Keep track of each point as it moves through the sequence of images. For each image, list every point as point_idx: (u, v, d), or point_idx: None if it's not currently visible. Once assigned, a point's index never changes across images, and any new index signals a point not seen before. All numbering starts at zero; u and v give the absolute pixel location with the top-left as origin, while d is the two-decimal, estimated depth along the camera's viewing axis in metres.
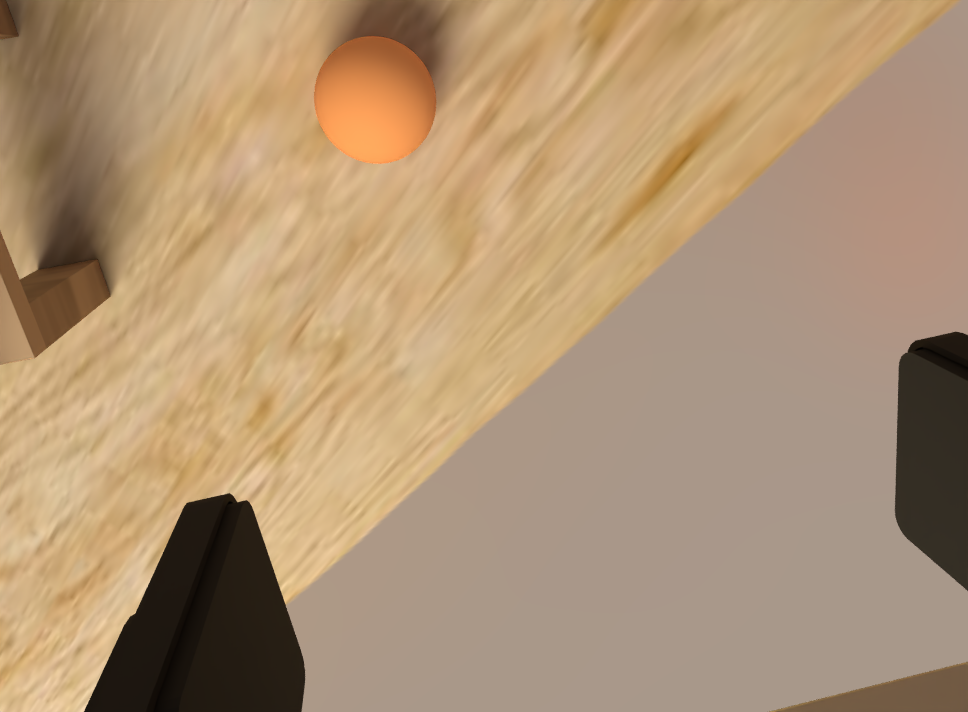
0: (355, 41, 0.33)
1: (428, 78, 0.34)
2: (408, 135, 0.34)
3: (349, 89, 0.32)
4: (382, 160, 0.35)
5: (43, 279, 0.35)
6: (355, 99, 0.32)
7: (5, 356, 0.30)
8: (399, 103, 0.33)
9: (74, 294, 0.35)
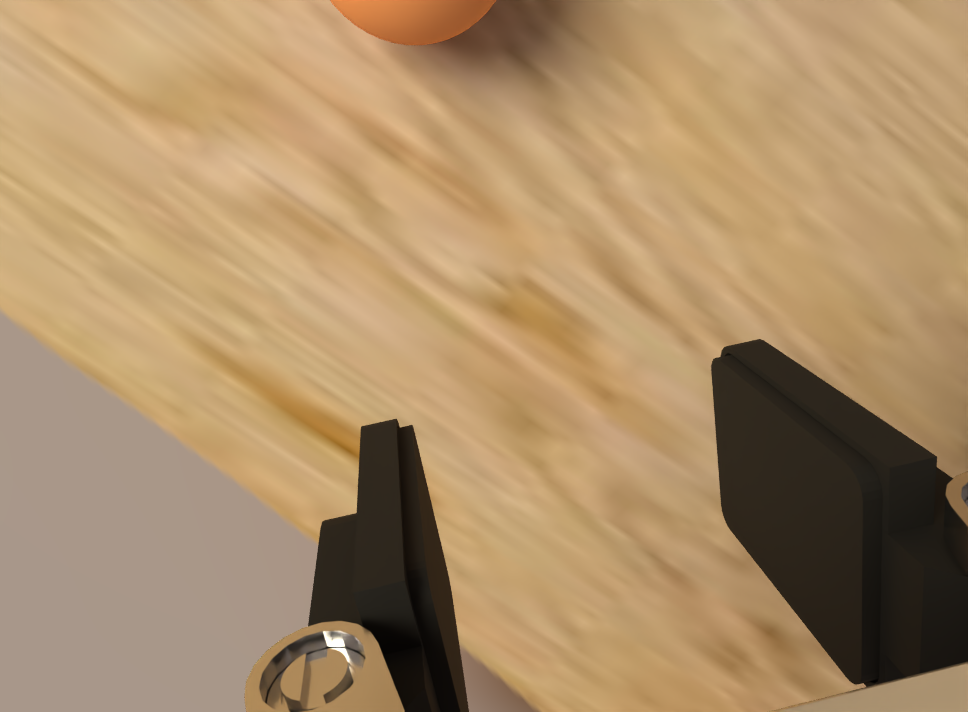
0: None
1: (456, 26, 0.20)
2: None
3: None
4: None
5: None
6: None
7: None
8: None
9: None
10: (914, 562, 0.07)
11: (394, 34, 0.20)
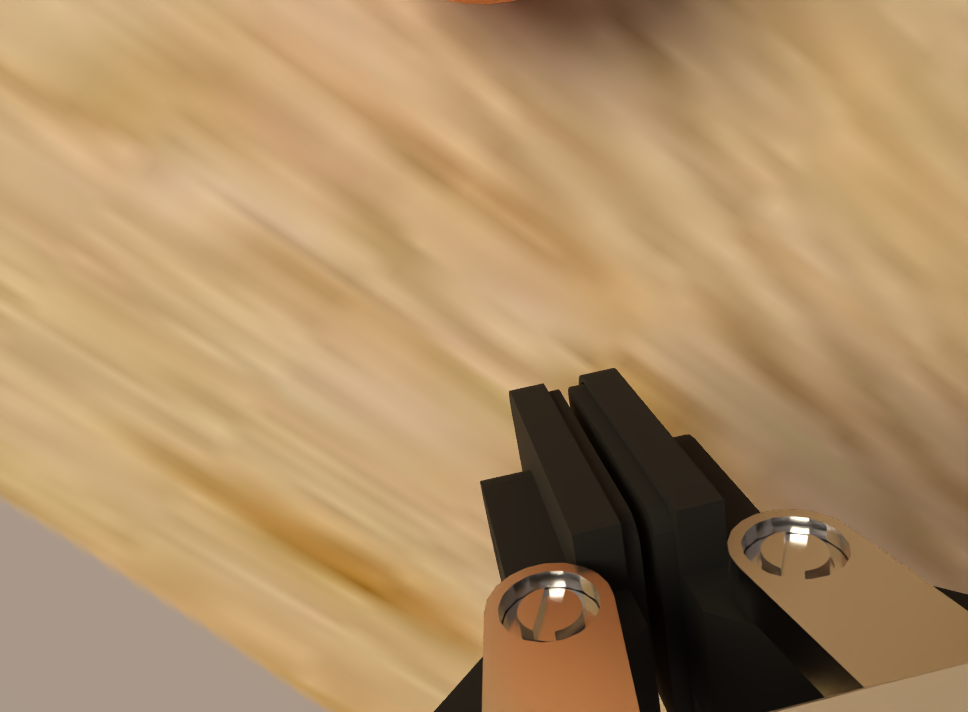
0: None
1: None
2: None
3: None
4: None
5: None
6: None
7: None
8: None
9: None
10: (700, 606, 0.07)
11: None
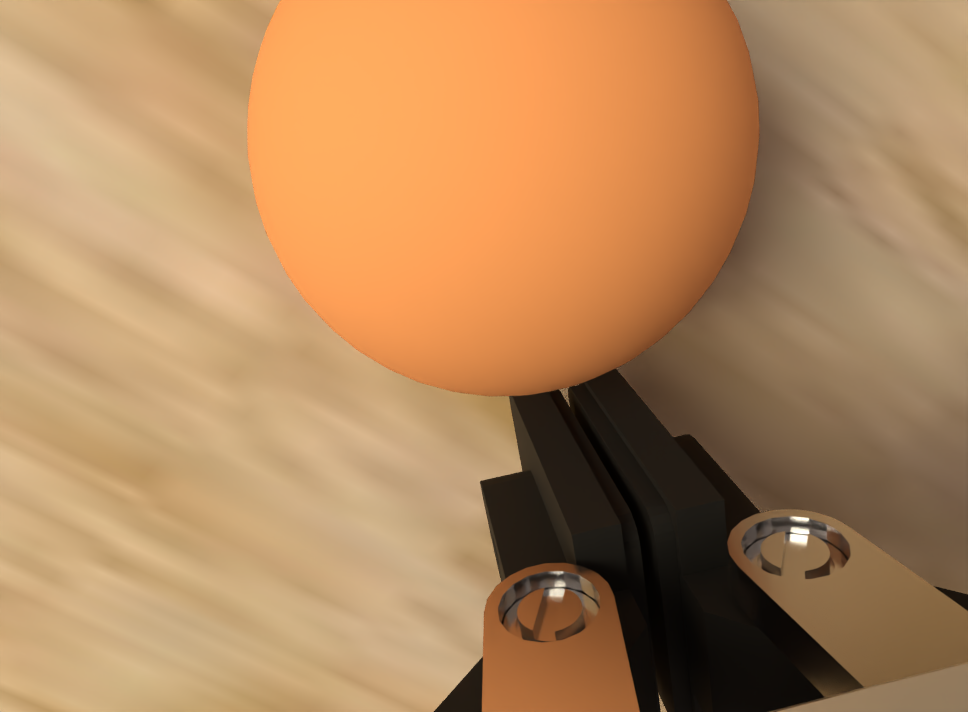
0: None
1: None
2: None
3: None
4: None
5: None
6: None
7: None
8: None
9: None
10: (700, 606, 0.07)
11: None
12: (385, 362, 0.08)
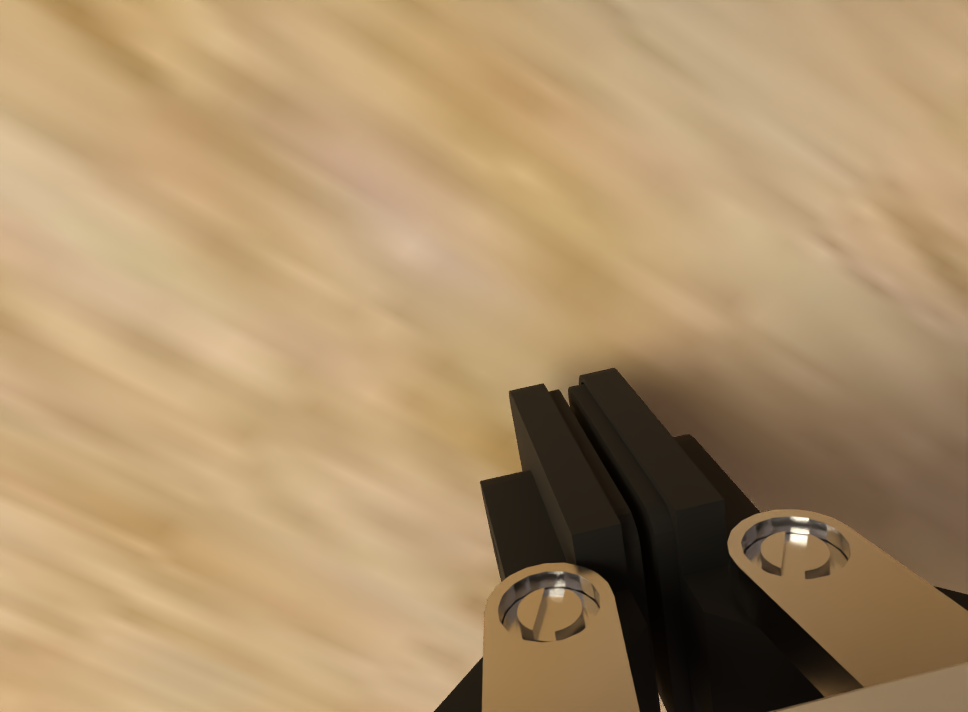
0: None
1: None
2: None
3: None
4: None
5: None
6: None
7: None
8: None
9: None
10: (700, 605, 0.07)
11: None
12: None
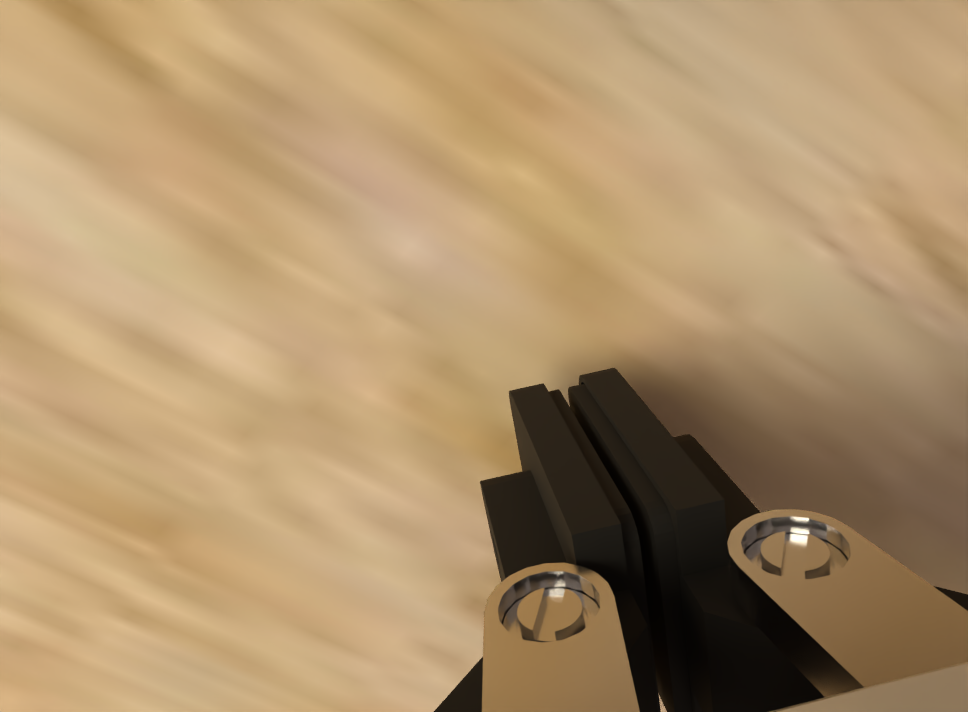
0: None
1: None
2: None
3: None
4: None
5: None
6: None
7: None
8: None
9: None
10: (700, 605, 0.07)
11: None
12: None
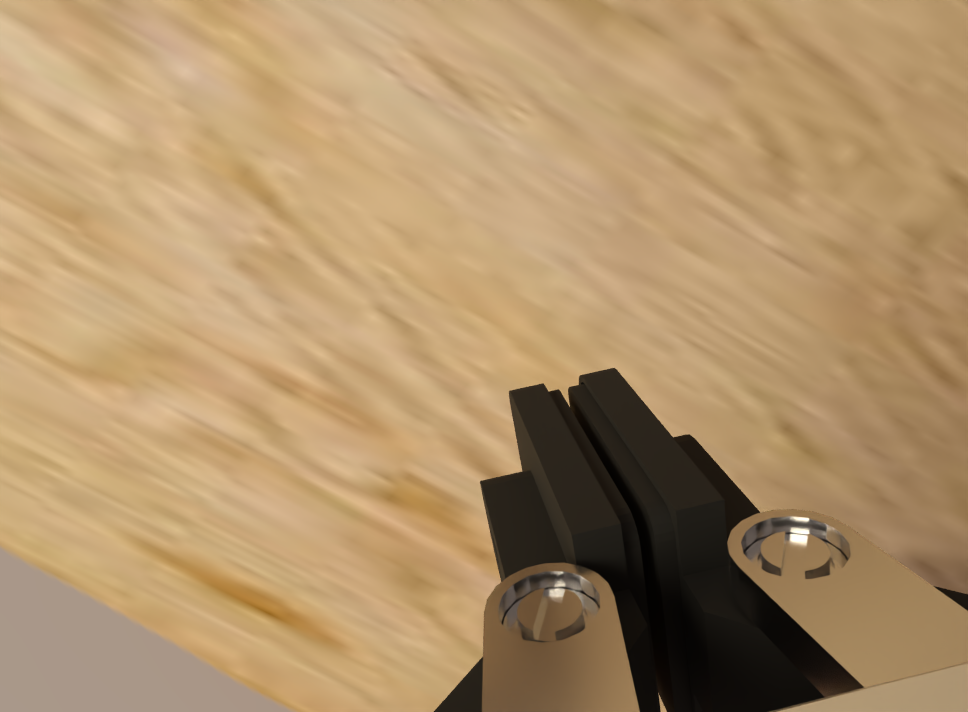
0: None
1: None
2: None
3: None
4: None
5: None
6: None
7: None
8: None
9: None
10: (700, 606, 0.07)
11: None
12: None
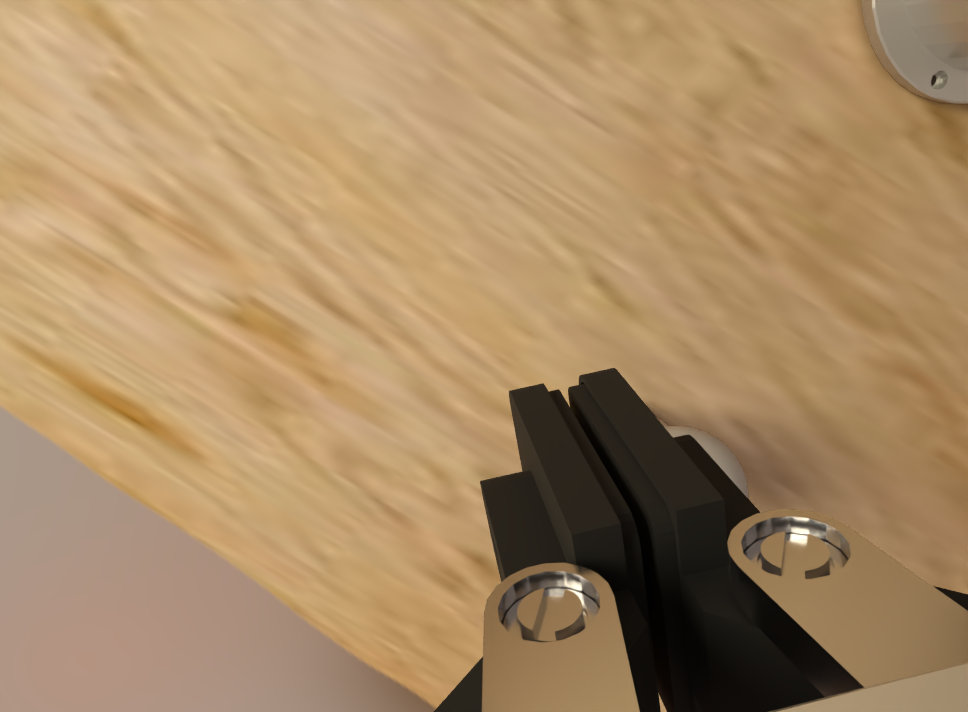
0: None
1: None
2: None
3: None
4: None
5: None
6: None
7: None
8: None
9: None
10: (700, 606, 0.07)
11: None
12: None
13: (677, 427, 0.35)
